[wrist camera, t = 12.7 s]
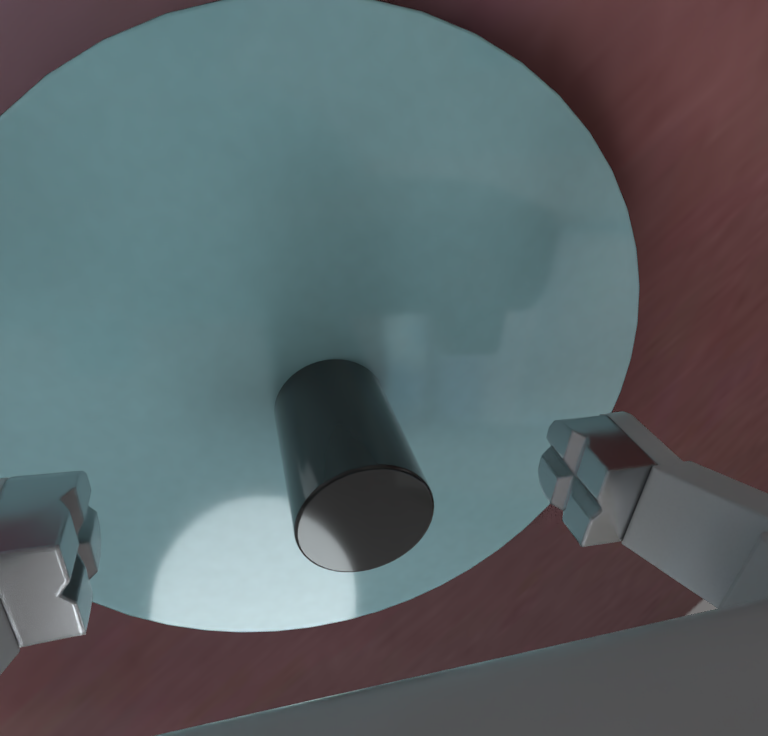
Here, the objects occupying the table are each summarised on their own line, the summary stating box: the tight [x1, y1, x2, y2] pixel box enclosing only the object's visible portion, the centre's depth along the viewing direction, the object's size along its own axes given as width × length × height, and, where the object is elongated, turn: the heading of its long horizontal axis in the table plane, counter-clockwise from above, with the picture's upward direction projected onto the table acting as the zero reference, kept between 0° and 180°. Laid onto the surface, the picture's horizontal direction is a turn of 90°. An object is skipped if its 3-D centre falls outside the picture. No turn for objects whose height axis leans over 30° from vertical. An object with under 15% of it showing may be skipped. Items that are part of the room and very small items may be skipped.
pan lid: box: [0, 0, 640, 632], centre depth 11 cm, size 15×15×5 cm
